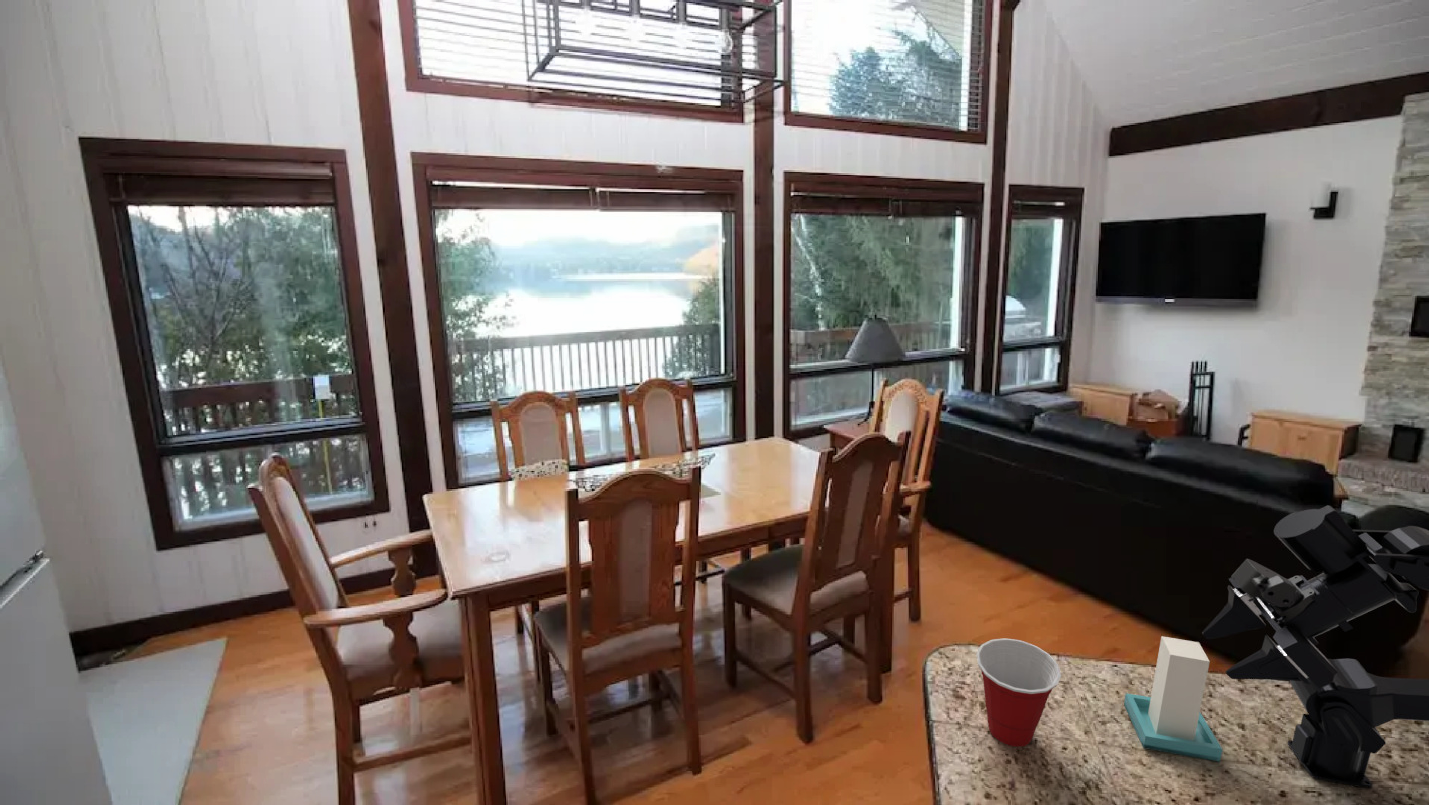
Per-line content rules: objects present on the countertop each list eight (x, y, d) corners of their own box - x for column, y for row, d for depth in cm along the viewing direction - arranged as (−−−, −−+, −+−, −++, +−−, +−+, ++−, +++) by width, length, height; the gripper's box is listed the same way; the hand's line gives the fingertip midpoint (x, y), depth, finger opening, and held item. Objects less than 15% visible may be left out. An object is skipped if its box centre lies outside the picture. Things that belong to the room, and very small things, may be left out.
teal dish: (1193, 715, 97) (1195, 704, 96) (1219, 761, 88) (1222, 749, 88) (1123, 704, 99) (1125, 693, 99) (1143, 748, 91) (1145, 736, 90)
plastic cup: (964, 745, 92) (971, 672, 89) (974, 698, 101) (980, 630, 98) (1051, 773, 87) (1061, 696, 84) (1052, 721, 96) (1062, 650, 93)
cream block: (1184, 720, 95) (1198, 642, 92) (1193, 742, 91) (1209, 661, 88) (1148, 713, 96) (1161, 636, 93) (1156, 734, 92) (1170, 654, 89)
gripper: (1258, 520, 92) (1155, 577, 98) (1325, 584, 75) (1195, 649, 81) (1316, 579, 91) (1208, 634, 97) (1397, 658, 74) (1260, 718, 80)
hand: (1215, 654), depth 89 cm, fingers open, 9 cm apart
